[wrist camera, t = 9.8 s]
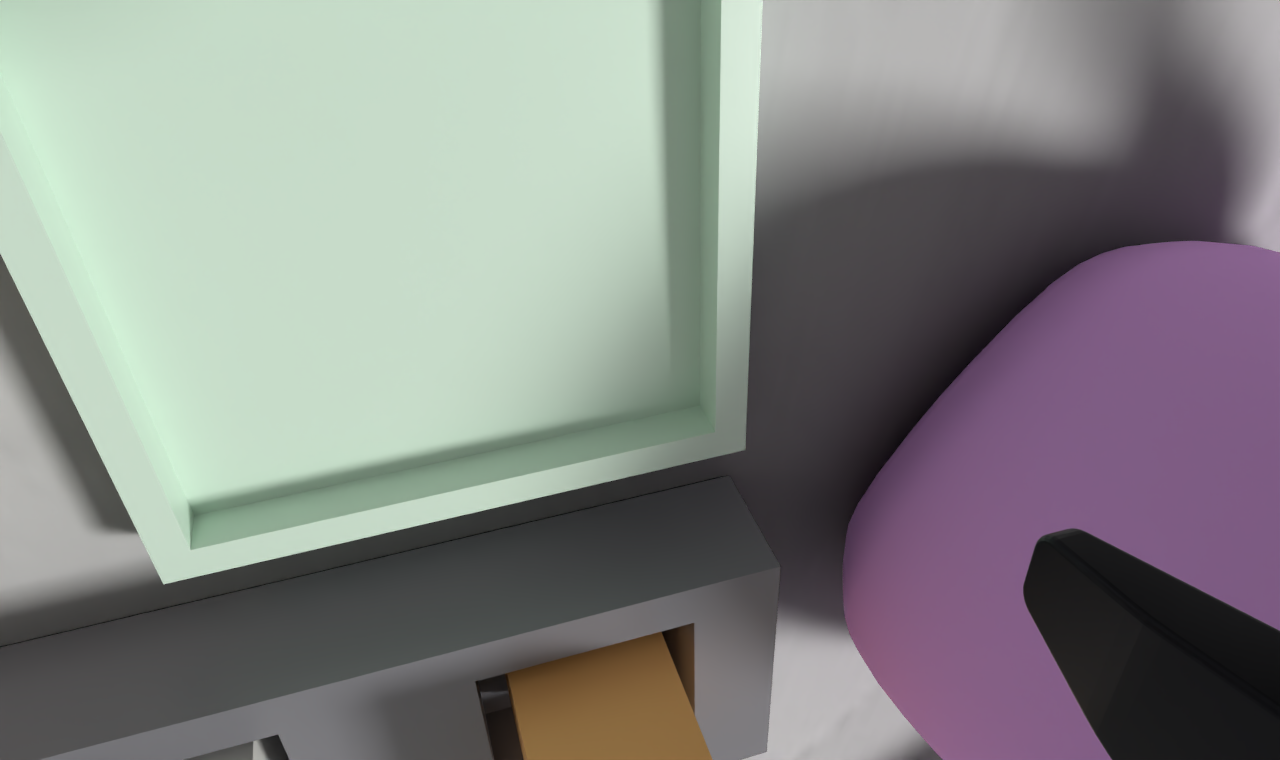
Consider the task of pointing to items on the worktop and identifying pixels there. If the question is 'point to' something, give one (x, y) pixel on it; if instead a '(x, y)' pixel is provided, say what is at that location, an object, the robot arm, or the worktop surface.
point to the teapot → (1073, 486)
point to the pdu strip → (418, 644)
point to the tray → (381, 251)
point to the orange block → (606, 706)
